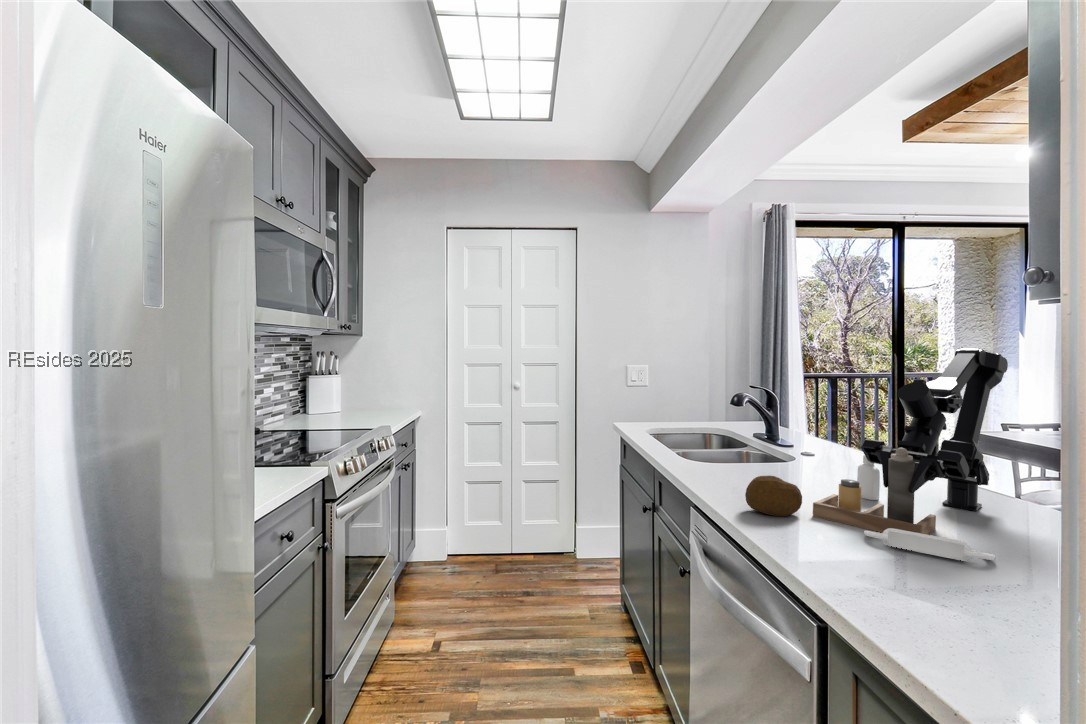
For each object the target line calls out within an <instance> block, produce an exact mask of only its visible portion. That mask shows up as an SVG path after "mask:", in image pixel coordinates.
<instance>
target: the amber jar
mask: <svg viewBox="0 0 1086 724" xmlns="http://www.w3.org/2000/svg"><path fill="white" fill-rule="evenodd" d="M859 483H860V482H858V481H857V480H855V479H848V478H847V479H845V478H844V479H840V482H839V483H838V507H841V508H845V509H850V510H854V511H859V512H862V497H861V488H862V487H861V486H859Z"/></svg>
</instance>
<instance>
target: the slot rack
mask: <svg viewBox="0 0 1086 724" xmlns="http://www.w3.org/2000/svg"><path fill="white" fill-rule="evenodd" d="M838 499H839V494H834V493H833V494H830V495H828V496H826V497H824V498H822V499H820V500H817V501H814V502H813V503H812V517H814V518H819V519H824V520H827V521H828V520H829V521H832V522H836V523H839V524H844V525H848V526H852V527H856V528H860V529H864V530H867V531H872V530H873V532H876V531H878V532H879V533H880V532H882V533H883V532H884V530H886V529H888V528H894V529H899V530H905V531H910V532H916V533H921V534H927V535H931V534H932V533H933V532H934V531H936V527H937V525H936V524H937V515H936V514H931V513H930V514H928V515H926V516H925V517H924V518H923V519H921V520H920V521H918V522H917V523H914V524H913V523H908V522H904V521H899V520H895V519H890V518H887V517H885V504H883V503H877V504H875V505H874V506H871V507H870V508H868V509H866V510H864V511H863V512H862V511H861V512H859V511H854V510H850V509H845V508H841V507H838Z"/></svg>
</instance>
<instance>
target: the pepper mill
mask: <svg viewBox="0 0 1086 724" xmlns="http://www.w3.org/2000/svg"><path fill="white" fill-rule="evenodd" d="M896 449H897V450H896V454H891V458H889V460H888V487H887V503H886V504H887V506H886V507H887V508H886V509H887V511H886V513H887V514H886V516H887V517H886V518H890V519H895V520H899V521H904V522H908V523H913V524H915V520H914V518H915V492H914V493H911V492H910V485H911V482H912V479H913V477H914V474H915V461H913V456H910V455H908V451H907V450H906V449H905V448H899V447H898V448H896Z"/></svg>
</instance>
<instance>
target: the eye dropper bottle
mask: <svg viewBox="0 0 1086 724" xmlns="http://www.w3.org/2000/svg"><path fill="white" fill-rule="evenodd" d="M862 458H863V460H862V463H863V464H862V463H861V464H860V465H858V466H857V474H856V475H857V480H856V481H858V482H860V483H859V486H861V487H862V488H861V499H865V500H867V501H879V500H880V487H881V486H880V484H881V481H880V480H881V479H880V478H881V476H880V475H881V473H880V470H879V468H878V467H877V466H876V465H875V463H871V462H870V461H868V460H867V458H866V456H865V454H864V455H863V456H862Z"/></svg>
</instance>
